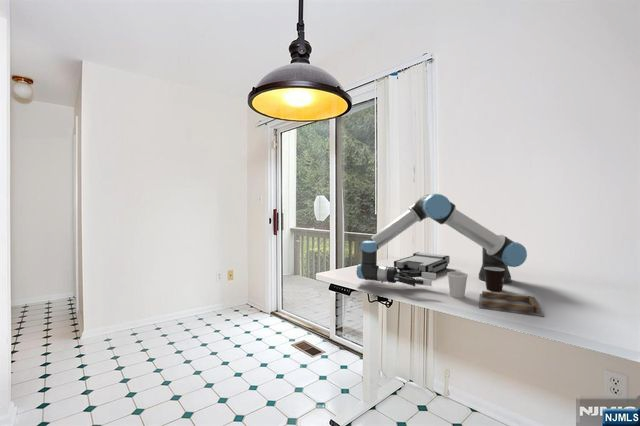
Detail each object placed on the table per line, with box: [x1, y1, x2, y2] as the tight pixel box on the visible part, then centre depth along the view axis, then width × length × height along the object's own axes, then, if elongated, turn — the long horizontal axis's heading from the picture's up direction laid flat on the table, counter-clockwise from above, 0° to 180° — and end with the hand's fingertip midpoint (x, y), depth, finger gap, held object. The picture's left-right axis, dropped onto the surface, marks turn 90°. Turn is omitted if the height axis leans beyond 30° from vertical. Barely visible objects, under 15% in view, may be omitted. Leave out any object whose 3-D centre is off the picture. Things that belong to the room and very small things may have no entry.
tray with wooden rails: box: [478, 290, 545, 318], centre depth 126 cm, size 21×20×2 cm
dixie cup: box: [446, 271, 469, 299], centre depth 137 cm, size 8×8×10 cm
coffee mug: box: [484, 267, 505, 293], centre depth 147 cm, size 12×9×10 cm
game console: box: [393, 251, 451, 274], centre depth 188 cm, size 21×32×8 cm, turn 138°
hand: (433, 279), depth 142 cm, fingers open, 13 cm apart
